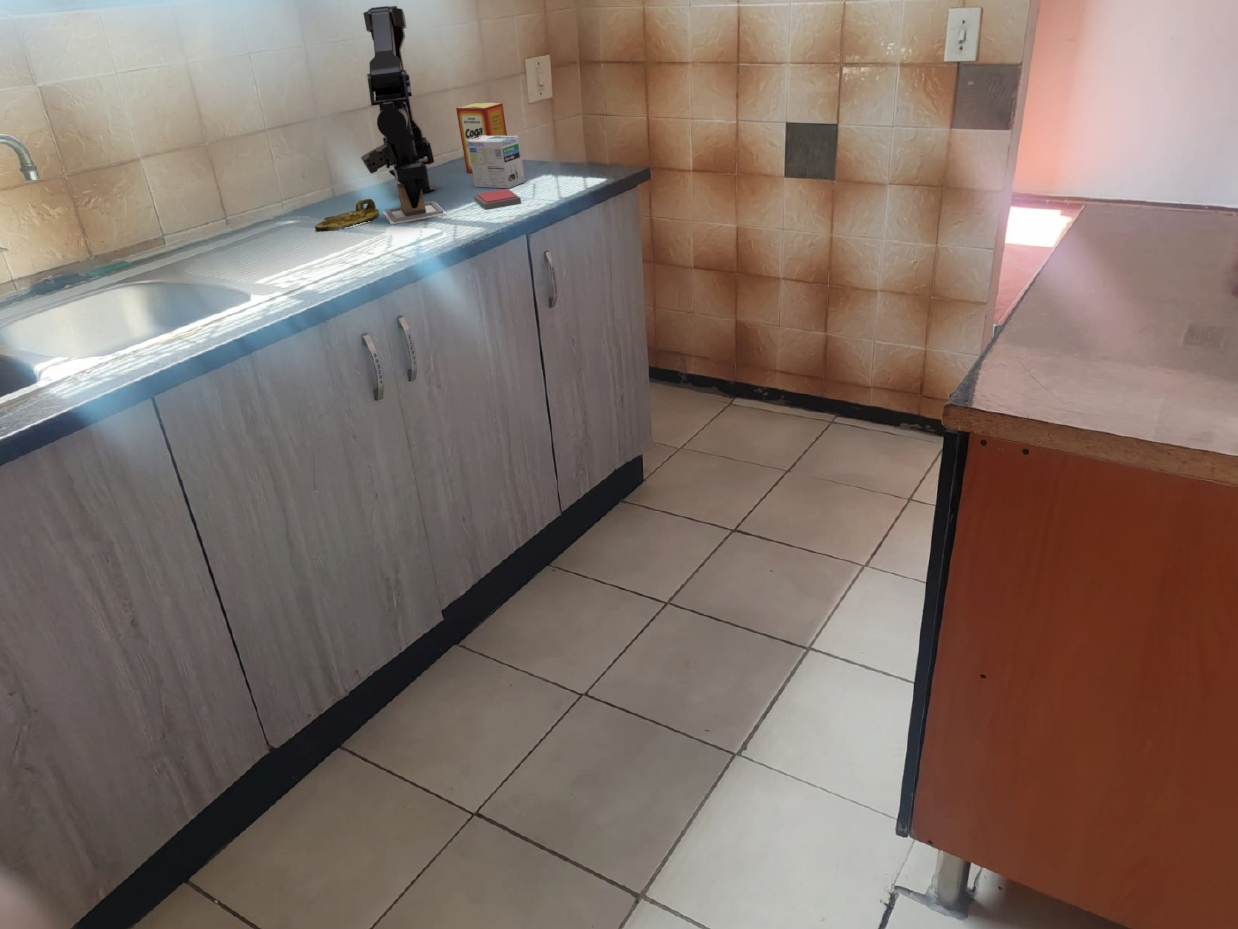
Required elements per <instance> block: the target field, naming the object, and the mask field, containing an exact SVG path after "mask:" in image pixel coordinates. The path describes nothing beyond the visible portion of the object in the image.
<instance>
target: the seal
mask: <svg viewBox="0 0 1238 929" xmlns="http://www.w3.org/2000/svg"><path fill="white" fill-rule="evenodd" d="M366 204H367V205H366ZM364 205H366V206H365V207H364ZM380 215H381V214H380V210H379V209H378V208H376V204H375V201H374V200H373V199H372V198H366V199H362V200H358V201H357V202H356V204H355V210H352V211H348V212H344V213H341V214H338V215H333V216H332V215H331V216H328V217H327V216H326V217H324V219H323V220H322V221H321V222H319V223H317V224H315V226H314V229H315V231H317V232H319V231H322V232H336V231H340V230H339V229H343V230H345V229H344V228H345V227H350V226H353V225H356V224H360V223H363V222H368V221H371V222H373V220H374V221H376V220H377V219H378V218H380ZM375 219H376V220H375Z"/></svg>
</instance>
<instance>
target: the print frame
mask: <svg viewBox="0 0 1238 929" xmlns="http://www.w3.org/2000/svg"><path fill="white" fill-rule="evenodd" d="M424 204H425V209H426V213H422V214H417V215H411V216H405V215H404V214H403V213H402V209H401V206H398V207H393V208H387V209H384V210H385V211H382V214H383V215H384V216H385V219H387V221H388V222H389V223H390V225H391V224H392V225H397V224H396V223H398V224H403V223H409V222H413V221H419V220H425V219H430V218H435V217H441V216H447V214H448V213H447V212H446V211H445V210H444V209H443V208H442V207H441V206H440V205H439V204H438V203H437V202H435V201H434V200H433V201H432V200H431V201H426V202H425V201H424Z"/></svg>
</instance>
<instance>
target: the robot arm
mask: <svg viewBox="0 0 1238 929" xmlns="http://www.w3.org/2000/svg"><path fill="white" fill-rule="evenodd" d="M362 14H363V19H364V24H365V29H366V31H367V33H370V34H371V39H372V41H373V49H374V50H373V51H374V56H373V58H372V59H371V60H370V61H369V63H368V64H369V73H367V74H366V76H367V78H366V79H367V83H368V84H367V85H368V91H369V97H370V98H369V99H370V106H371V107H373V106H378V107H379V114H378V116H377V119H376V126H377V128H378V129H377V130H378V131H379V132H380V134H382V135H383V137H382V142H383V144H381V145H379V146H377V147H375V148H374V149H371V150H370V151H369V152H367V153H365V154H364V155H362V156H361V157H360V159H361V161H362V162H363V163H364V165H365V167H366V169H367V171H368V172H369V173H370V174H374V173H377V171H378V170H379V169H381V168H383V167H385V168H386V169H390V167H391V169H390V170H388V172H389V174H390V175H392V176H393V177H394V179H395V181H397V183H398V184H403V185H404V188H405V190H406V193H407V196H408V198H409V201H410V203H411V206H412V208H417V207H418V202H419V198H420V193H421V188H422V193H423V194H424V193H429V192H434V191H435V188H434V187H433V186H432V185H431V183H430V179H429V173H428V168H427V165H431V164H433V163H435V160H434V158H435V157H434V154H433V150H432V146H431V142H429V140H428V139H427V137H426V136H424V133H423V129H422V128H421V127H420V125H419V124H418V122H417V121H416V120H415V119H414V116H413V111H412V105H411V97H413V95H412V94H413V92H412V86H411V78H410V75H409V74H408V73H407V70H406V69H405V66H404V62H403V56H402V47H403V46H404V45H403V44H404V42H405V38H406V33H405V29H407V23H406V16H405V13H404V10H403V8H398V6H397V5H391V6H389V5H385V6H376V7H375V6H374V7H371V8H369V9H368V10H367V11H365V12H363V13H362Z"/></svg>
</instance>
